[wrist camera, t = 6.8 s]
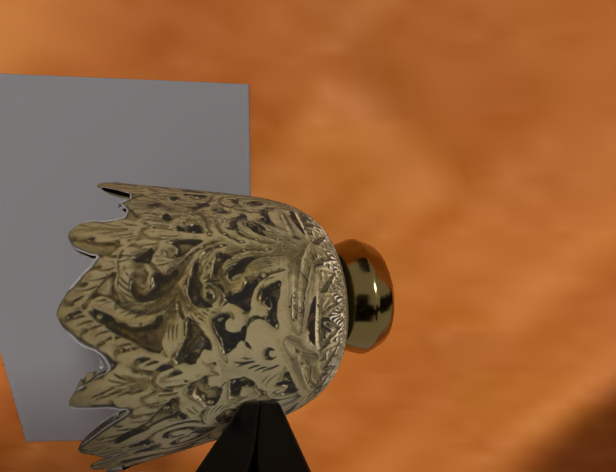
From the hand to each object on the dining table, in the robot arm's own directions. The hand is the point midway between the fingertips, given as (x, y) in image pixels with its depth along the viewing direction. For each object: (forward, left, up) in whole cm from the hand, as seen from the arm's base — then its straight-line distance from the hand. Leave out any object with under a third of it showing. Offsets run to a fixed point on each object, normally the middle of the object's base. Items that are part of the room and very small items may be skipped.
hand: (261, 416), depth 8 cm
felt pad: (+4, +4, -7) cm, 9 cm away
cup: (-2, -3, -4) cm, 6 cm away
